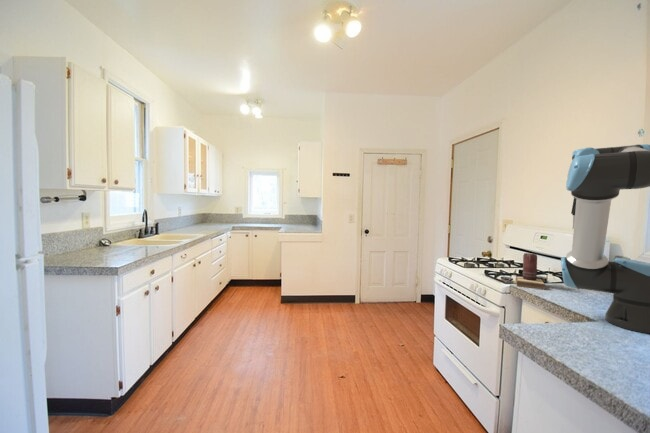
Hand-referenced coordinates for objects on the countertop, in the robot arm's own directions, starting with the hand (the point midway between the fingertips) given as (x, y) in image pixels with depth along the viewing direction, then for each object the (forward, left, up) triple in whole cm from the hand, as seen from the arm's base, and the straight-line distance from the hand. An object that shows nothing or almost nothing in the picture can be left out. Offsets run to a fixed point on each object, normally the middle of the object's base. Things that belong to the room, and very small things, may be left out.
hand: (580, 229), depth 127 cm
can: (+18, +17, -30) cm, 38 cm away
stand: (+16, +17, -32) cm, 40 cm away
